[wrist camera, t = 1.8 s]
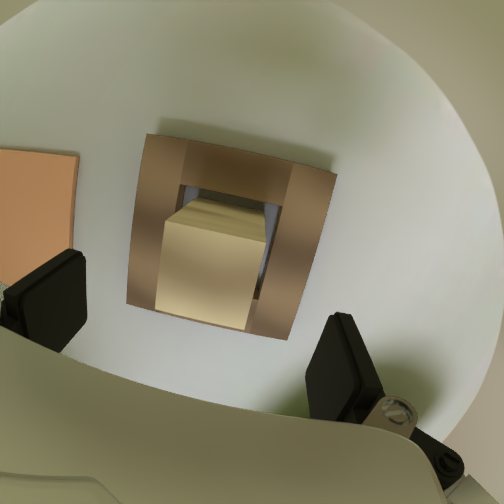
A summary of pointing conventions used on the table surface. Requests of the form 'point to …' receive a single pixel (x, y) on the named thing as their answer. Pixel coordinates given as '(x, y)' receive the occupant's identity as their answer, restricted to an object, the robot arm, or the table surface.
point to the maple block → (211, 262)
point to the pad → (34, 209)
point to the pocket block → (239, 184)
